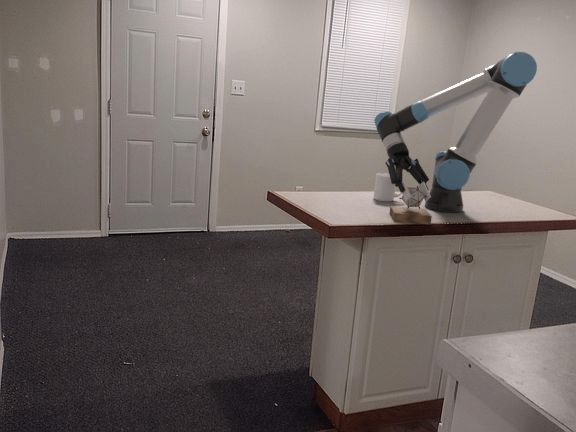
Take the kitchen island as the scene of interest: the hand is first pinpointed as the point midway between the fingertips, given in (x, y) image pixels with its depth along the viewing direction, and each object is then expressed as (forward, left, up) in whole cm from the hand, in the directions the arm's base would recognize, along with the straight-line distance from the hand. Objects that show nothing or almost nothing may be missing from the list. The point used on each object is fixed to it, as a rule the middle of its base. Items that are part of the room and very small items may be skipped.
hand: (418, 199), depth 187 cm
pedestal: (+2, -3, -8) cm, 9 cm away
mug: (+6, -37, -8) cm, 38 cm away
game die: (+1, -3, -4) cm, 5 cm away
